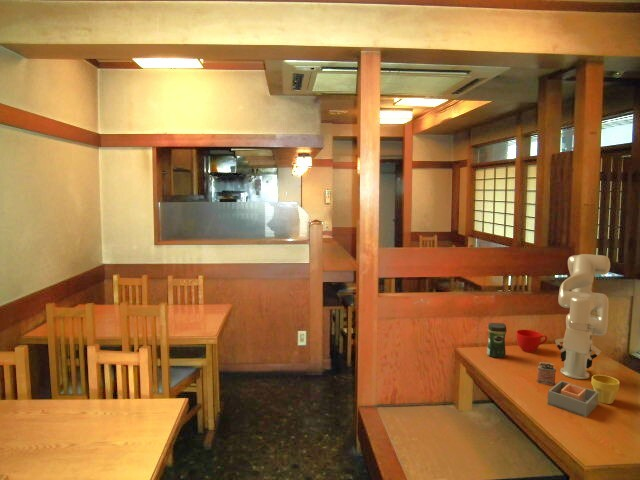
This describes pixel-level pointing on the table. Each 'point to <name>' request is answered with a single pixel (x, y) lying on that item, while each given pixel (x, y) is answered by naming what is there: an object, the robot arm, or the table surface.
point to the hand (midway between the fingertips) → (575, 364)
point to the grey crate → (572, 400)
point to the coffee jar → (496, 340)
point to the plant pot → (605, 388)
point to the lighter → (546, 373)
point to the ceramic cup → (529, 340)
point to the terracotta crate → (574, 392)
